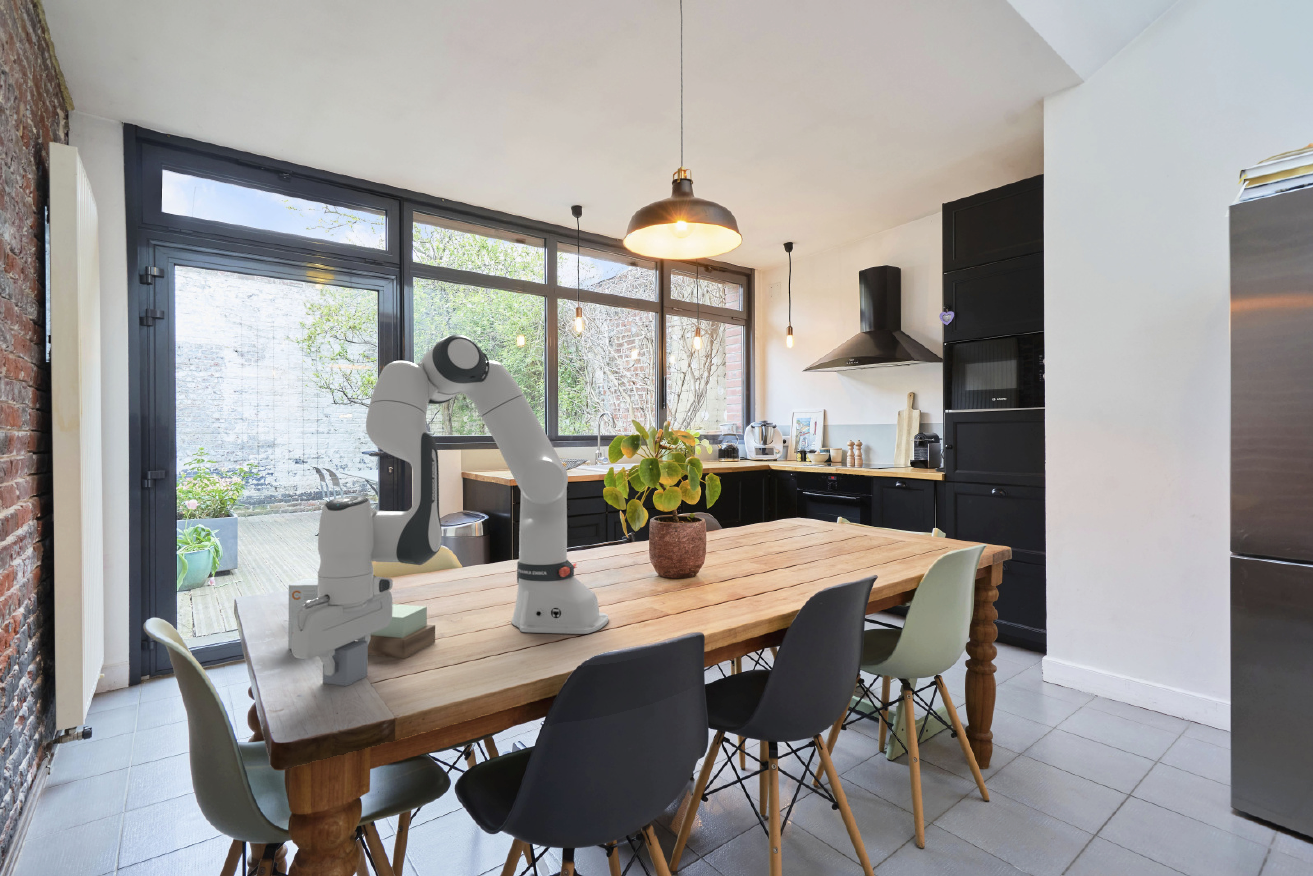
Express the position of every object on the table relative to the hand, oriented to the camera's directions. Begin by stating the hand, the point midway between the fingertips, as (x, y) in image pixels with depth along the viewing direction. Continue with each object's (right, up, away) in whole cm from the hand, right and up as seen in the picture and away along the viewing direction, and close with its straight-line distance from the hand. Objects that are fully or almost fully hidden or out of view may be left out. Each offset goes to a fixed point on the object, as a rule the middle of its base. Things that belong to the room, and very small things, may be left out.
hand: (345, 667), depth 109 cm
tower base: (+3, -3, +17) cm, 17 cm away
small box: (-16, -2, +19) cm, 25 cm away
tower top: (+2, +1, +17) cm, 17 cm away
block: (0, -2, 0) cm, 2 cm away
